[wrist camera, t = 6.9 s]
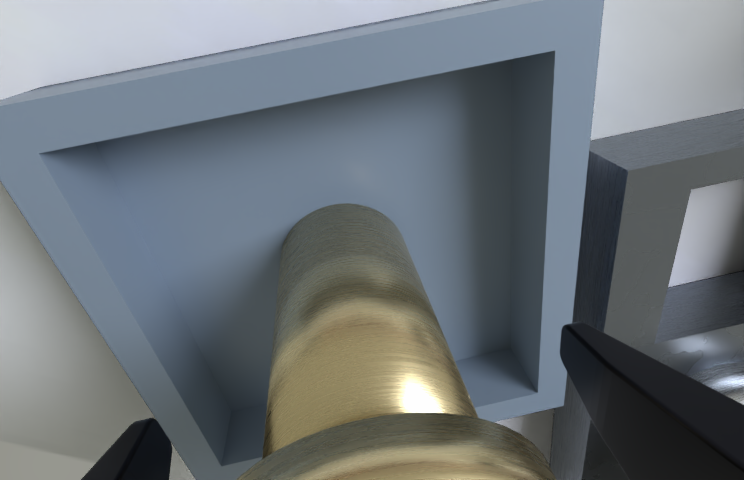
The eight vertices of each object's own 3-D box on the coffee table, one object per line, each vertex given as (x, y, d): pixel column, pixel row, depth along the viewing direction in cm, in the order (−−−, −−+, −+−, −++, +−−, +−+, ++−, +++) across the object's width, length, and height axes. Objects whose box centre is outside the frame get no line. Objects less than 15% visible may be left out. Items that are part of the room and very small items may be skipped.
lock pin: (434, 307, 15) (580, 651, 7) (283, 341, 15) (260, 735, 7) (417, 164, 12) (627, 460, 4) (233, 202, 12) (97, 588, 4)
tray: (525, 346, 18) (563, 405, 15) (217, 416, 17) (202, 489, 15) (535, -9, 11) (605, -12, 9) (40, 87, 11) (-44, 114, 8)
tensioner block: (727, 427, 23) (837, 538, 18) (549, 469, 23) (614, 594, 18) (869, 82, 14) (1159, 124, 9) (576, 143, 14) (723, 220, 9)
